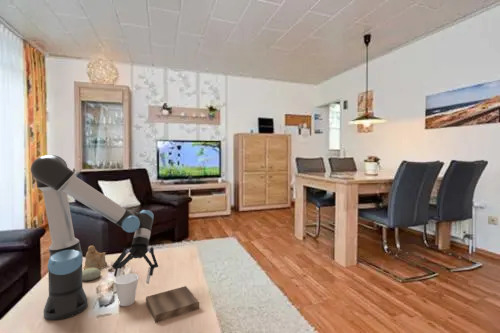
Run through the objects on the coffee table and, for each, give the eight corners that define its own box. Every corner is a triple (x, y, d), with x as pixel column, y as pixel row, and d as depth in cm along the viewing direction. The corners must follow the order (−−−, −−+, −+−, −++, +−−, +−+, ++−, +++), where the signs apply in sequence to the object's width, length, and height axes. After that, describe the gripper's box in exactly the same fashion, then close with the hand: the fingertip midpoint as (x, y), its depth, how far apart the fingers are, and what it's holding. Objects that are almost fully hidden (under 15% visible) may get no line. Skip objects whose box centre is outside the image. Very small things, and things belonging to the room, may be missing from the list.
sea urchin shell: (95, 268, 147) (99, 261, 144) (99, 281, 144) (104, 274, 140) (76, 274, 140) (80, 266, 137) (81, 287, 137) (85, 280, 133)
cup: (129, 310, 111) (129, 284, 111) (108, 307, 113) (108, 282, 113) (143, 298, 121) (143, 274, 121) (124, 295, 123) (124, 272, 123)
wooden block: (155, 322, 104) (155, 315, 103) (146, 303, 117) (146, 296, 117) (199, 308, 113) (199, 301, 113) (185, 292, 127) (185, 286, 127)
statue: (90, 244, 161) (104, 240, 159) (97, 266, 161) (110, 263, 158) (73, 251, 149) (87, 247, 147) (80, 275, 149) (94, 272, 147)
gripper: (167, 242, 138) (161, 285, 124) (117, 243, 135) (105, 287, 121) (165, 235, 132) (159, 279, 118) (112, 236, 129) (99, 281, 115)
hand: (131, 283), depth 119 cm, fingers open, 13 cm apart
